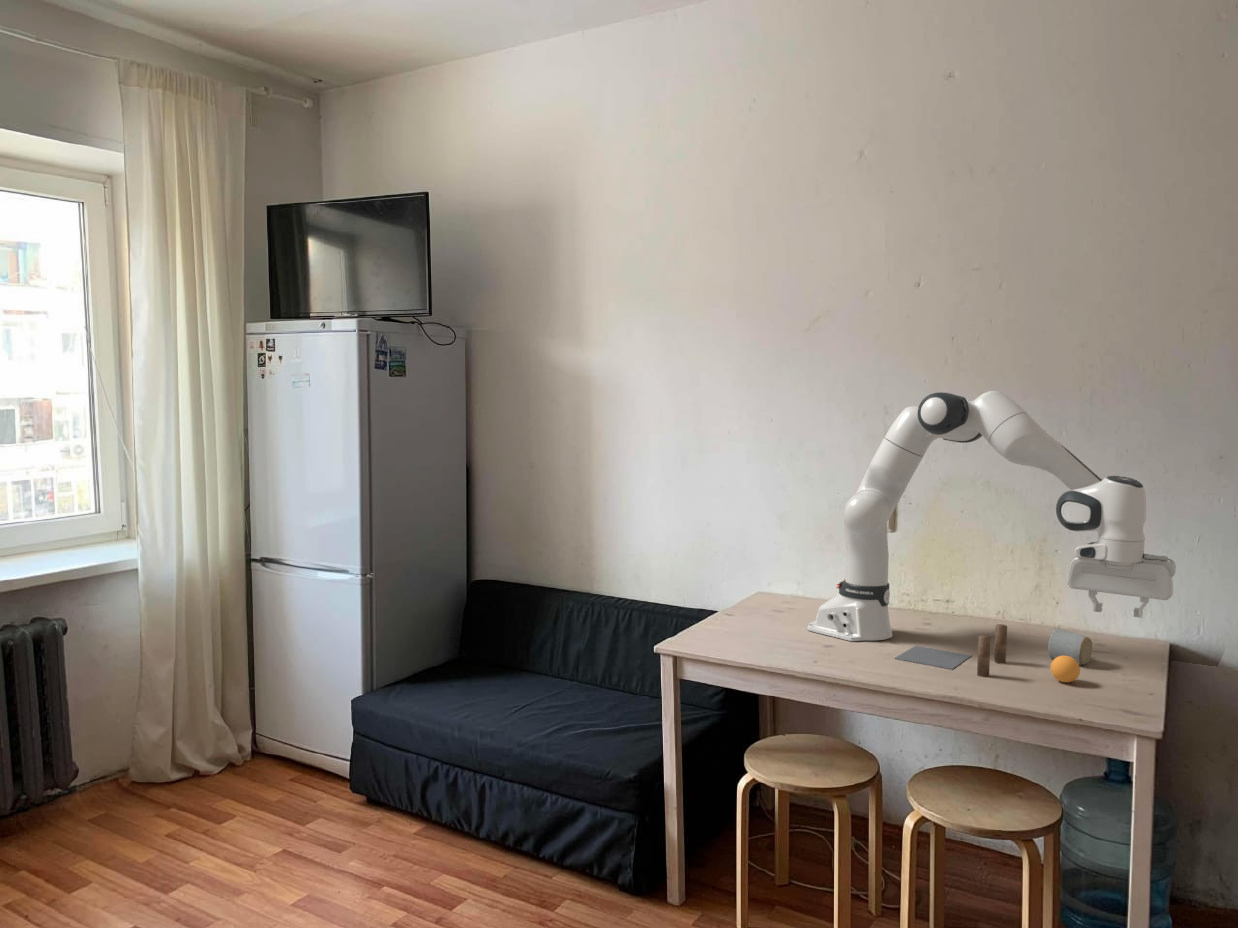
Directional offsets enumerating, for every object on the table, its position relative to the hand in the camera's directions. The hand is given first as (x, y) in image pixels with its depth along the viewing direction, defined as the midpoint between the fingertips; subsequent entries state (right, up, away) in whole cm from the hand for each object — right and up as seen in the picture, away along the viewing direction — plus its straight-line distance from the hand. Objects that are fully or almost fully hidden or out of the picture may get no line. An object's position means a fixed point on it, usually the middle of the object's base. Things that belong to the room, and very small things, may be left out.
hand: (1117, 614), depth 203 cm
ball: (-8, -14, +7) cm, 17 cm away
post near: (-24, -16, +12) cm, 32 cm away
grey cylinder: (+2, -16, +24) cm, 29 cm away
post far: (-16, -15, +23) cm, 32 cm away
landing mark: (-31, -15, +26) cm, 44 cm away
